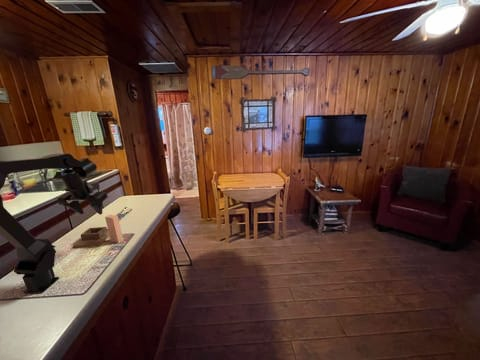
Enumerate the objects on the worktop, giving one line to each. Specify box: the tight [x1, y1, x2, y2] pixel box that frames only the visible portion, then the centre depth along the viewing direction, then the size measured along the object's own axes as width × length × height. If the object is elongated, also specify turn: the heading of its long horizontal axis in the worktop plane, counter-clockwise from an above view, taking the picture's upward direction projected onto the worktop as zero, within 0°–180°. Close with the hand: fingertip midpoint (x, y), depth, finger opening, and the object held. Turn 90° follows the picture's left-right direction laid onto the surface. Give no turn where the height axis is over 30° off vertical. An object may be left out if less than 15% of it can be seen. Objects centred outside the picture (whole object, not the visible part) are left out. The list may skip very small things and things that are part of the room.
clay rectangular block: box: [104, 214, 124, 244], centre depth 91 cm, size 2×5×12 cm, turn 69°
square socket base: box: [72, 226, 110, 249], centre depth 95 cm, size 14×11×4 cm
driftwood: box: [115, 206, 132, 221], centre depth 121 cm, size 21×7×2 cm, turn 2°
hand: (91, 213), depth 87 cm, fingers open, 9 cm apart
